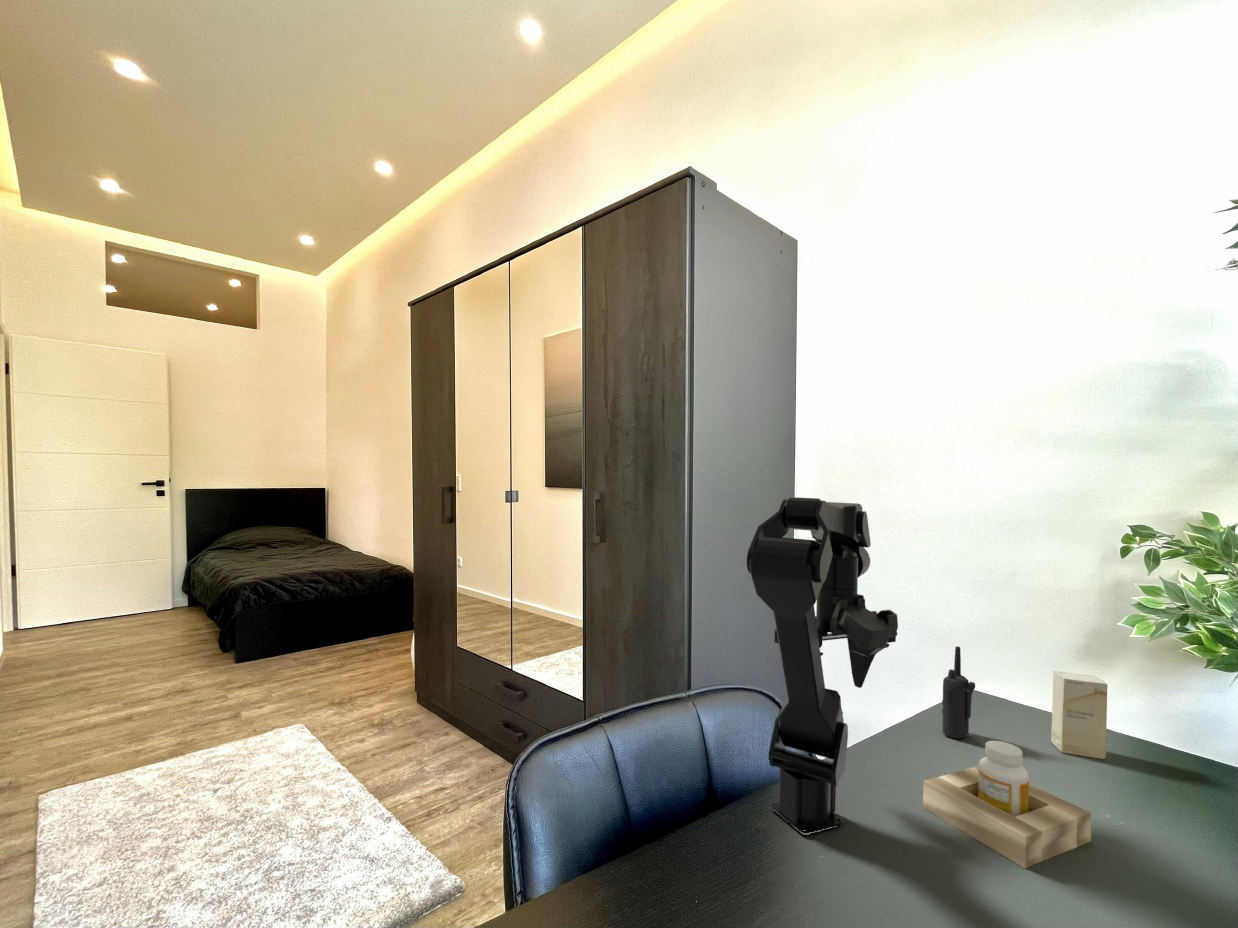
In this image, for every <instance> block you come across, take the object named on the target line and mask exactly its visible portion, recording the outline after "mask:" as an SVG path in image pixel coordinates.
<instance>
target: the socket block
mask: <svg viewBox="0 0 1238 928" xmlns="http://www.w3.org/2000/svg"><path fill="white" fill-rule="evenodd" d="M922 787H923V790H922V791H923V793H922V797H923V799H922V808H923V807H924V808H923V809H925V810H926V811H928V812H930V813H931V814H933V815H934V816H936V817H938V818H940V819H942V820H943V821H945V822H947V823H948V824H950V825H951V826H954V827H955V828H957V829H958V830H960V831H962V832H964V833H965V834H967V835H968V836H970V837H972V838H974V839H975V840H977V841H979V842H981V844H984V845H985V846H987V847H989V848H991V849H992V850H994V851H995V852H997V853H998V854H1001V856H1004V857H1006V859H1009V860H1010V861H1012V862H1013V863H1015V864H1017V865H1018V866H1021V867H1022V868H1023V869H1027V868H1029V867H1031V866H1034V865H1036V864H1039V863H1041V862H1044V861H1046V860H1050V859H1051V858H1052V859H1053V858H1054V857H1057V856H1059V855H1061V854H1064V853H1066V852H1069V851H1071V850H1074V849H1076V848H1079V847H1081V846H1083V845H1085V844H1089V843H1090V842H1092V812H1091V811H1088V810H1087V809H1084V808H1082V807H1081V806H1078V805H1076V804H1074V803H1071V802H1069V801H1067V800H1065V799H1063V798H1061V797H1060V796H1057V795H1055V794H1052V793H1050V792H1048V791H1046V790H1044V789H1041V788H1039V787H1037V786H1035V785H1033V784H1031V783H1029V803H1028V813H1025V814H1022V815H1019V816H1016V817H1014V816H1012V815H1010V814H1008V813H1006V812H1004V811H1003V810H1001V809H999V808H997V807H995V806H993V805H991V804H989V803H987V802H986V801H984V800H982V799H980V798H978V788H979V765H977V766H973V767H969V768H965V769H963V770H962V769H961V770H959V771H955V772H951V773H948V774H943V775H940V776H936V777H933V778H928V779H925V780H923V786H922Z"/></svg>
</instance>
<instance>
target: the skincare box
mask: <svg viewBox="0 0 1238 928" xmlns="http://www.w3.org/2000/svg"><path fill="white" fill-rule="evenodd" d="M1051 705H1052V708H1051V712H1052V714H1051V734H1050V735H1051V736H1050V737H1051V740H1050V741H1051V743H1052V744H1053V745H1054V746H1055V747H1056V748H1057V749H1058V750H1059V751H1060V752H1061V753H1064V754H1070V755H1076V756H1083V757H1087V758H1093V759H1099V760H1100V759H1102V760H1106V758H1107V756H1106V755H1107V725H1108V724H1107V721H1108V720H1107V718H1108V717H1107V713H1108V683H1107V682H1105V680H1102V679H1100V678H1099V677H1098V676H1096V675H1091V674H1090V675H1089V674H1084V673H1083V674H1081V673H1073V672H1066V671H1065V672H1063V671H1055V670H1053V672H1052V704H1051Z"/></svg>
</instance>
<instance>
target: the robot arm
mask: <svg viewBox="0 0 1238 928" xmlns="http://www.w3.org/2000/svg"><path fill="white" fill-rule="evenodd" d="M868 520H869V519H868V514H867V511H865V510H863V506H862V505H861V504H860V503H855V502H854V503H852V502H835V501H834V502H831V501H826V500H822V499H821V498H817V497H816V498H815V497H797V496H796V497H795V496H794V497H793V496H791V497H788V498H784V499H783V500H782V502H781V504H780V506H779V509H778V511H777V512H776V513H774V514H773V515H772V516H770V517H769V518H768V519H766V520H765V521H763V522H762V523H761V524H760V525H758V526H757V529H756V531H755V533H754V536H753V538H752V540H751V542H750V546H749V548H748V550H747V555H746V568H747V572H748V574H750V577H751V581H752V584H753V588H754V591H755V593H756V595H757V597H759V598H760V599H761V600H762V601H763V602H764V604H766V605H767V607H768V608H769V609H770V610H771V611H772V613H773V617H774V623H775V628H774V643H775V644H777V645H778V647H779V652H780V658H781V660H780V661H781V663H782V664H781V665H782V671H783V677H784V682H785V688H786V696H785V699H784V702H783V704H782V707H781V708H780V710H779V712H778V715H777V717H776V718H775V720H774V725H773V729H772V733H771V739H770V745H769V750H768V761H769V762H768V763H769V766H770V767H772V768H778V769H779V791H778V792H779V793H778V794H779V797H778V798H779V800H778V801H779V802H775V803H772V804H770V808H771V807H772V808H773V809H775V810H776V811H777V812H778V813H779V814H780V815H781V816H782V817H783V818H784V819H785V820H787V821H788V822H789V823H790V824H792V825H793V826H794V827H796V828H797V829H798V830H799V831H801V832H803V833H809V832H814V831H818V830H822V829H826V828H829V827H834V826H839V827H841V826H840V825H842V824H844V821H843V819H842V818H840V817H839V816H838V815H836V814H835V812H836V792H837V791H836V789H837V786H838V785H839V783H840V781H841V779H842V777H843V775H844V773H845V772H846V762H847V752H848V738H849V726H848V723H846V722H844V712H843V710H842V700H841V699H842V698H841V695H840V693H839V691H837V690H834V689H830V688H826V686H825V685H826V684H825V678H824V677H825V676H824V670H823V664H822V663H823V662H822V656H823V655H824V652H821V648H822V646H823V641H824V642H825V641H832V640H841V639H847V645H848V646H847V647H848V648H847V649H848V654H849V662H850V668H851V676H852V681H853V685H854V686H855V687H856V688H859V689H861V688H863V685H864V683H865V680H866V678H867V675H868V672H869V670H870V667H871V665H872V663H873V661H874V659H875V656H876V655H877V654H878V653H880V652H881V651H882V650H885V649H887V648H889V646H890V645H891V644H890V643H896V642H897V636H898V629H899V623H898V622H899V621H898V620H899V619H898V614H897V613H895V612H894V611H893V610H891V609H883V610H880V611H878V612H877V610H872V611H871V610H869V609H868V608H867V607H866V599H865V597H864V594H859V593H858V588H859V587H858V583H859V582H858V581H859V580H858V579H859V578H860V577H861V576H862V575H864V574H866V573H867V571H868V570H869V568H870V567H871V566H870V565H871V557H870V554H869V553H868V550H867V548H870V547H871V544H872V543H871V536H870V529H869V527H870V526H869V521H868ZM789 530H796V531H797V530H800V531H810V534H811V537H812V539H806V538H790V537H784V536H786V535H787V534H788V532H789ZM815 605H816V607H815ZM815 608H816V611H815ZM786 747H787V748H791V749H795V750H797V751H798V750H799V751H801V752H804V753H808V754H812V755H816V756H819V757H822V758H827V759H829V760H832V762H831V761H828V760H825V759H821V758H817V757H814V756H809V755H807V754H803V753H800V752H796V751H792V750H789V749H786ZM774 805H775V806H777V807H773V806H774ZM785 820H784V821H785ZM842 826H843V825H842ZM803 830H806V831H803Z"/></svg>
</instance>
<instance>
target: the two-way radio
mask: <svg viewBox="0 0 1238 928" xmlns="http://www.w3.org/2000/svg"><path fill="white" fill-rule="evenodd" d="M961 655H962V654H961V646H955V648H954V665H953V667H954V668H953V669H949V670H948V672H947V673H948V674H947V676H945V677H944V678H943V681H942V701H941V702H942V703H941V704H942V710H941V712H942V733H943V735H944V736H946V737H949V738H952V739H956V740H957V739H963V738H966V737H967V736H968V735H969V731H970V730H969V726H970V725H969V720H970V718H971V717H972V715H971V714H972V713H971V712H972V698H973V693H974V690H975V689H976V682H973V681H969V679H967V678H966V676H964V675H962V674H961V673H962V669H961V668H962V667H961V666H962V665H961V664H962V663H961V661H962V660H961V659H962V658H961Z"/></svg>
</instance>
